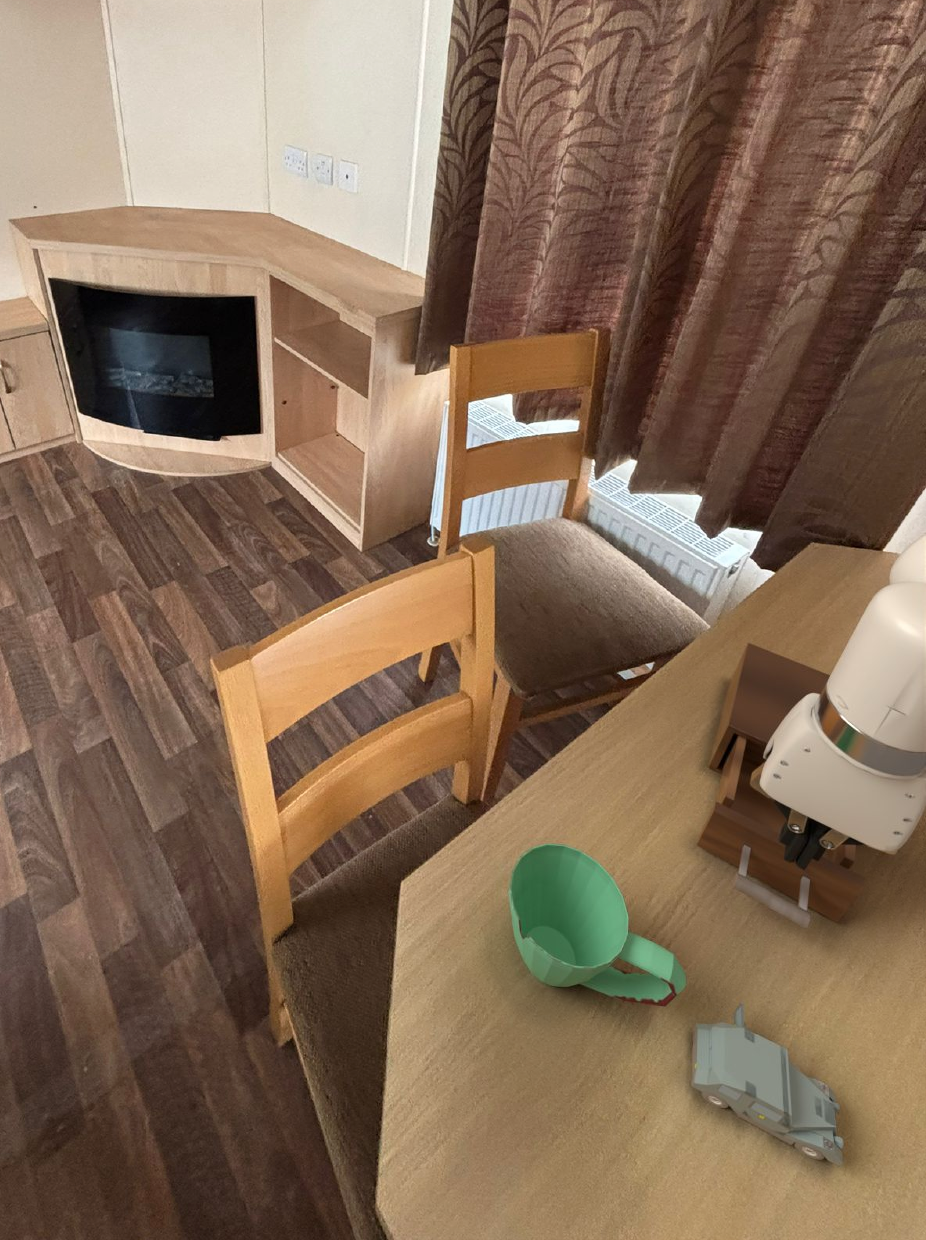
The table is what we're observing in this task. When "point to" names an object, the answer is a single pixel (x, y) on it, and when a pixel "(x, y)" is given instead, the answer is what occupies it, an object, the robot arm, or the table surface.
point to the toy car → (765, 1087)
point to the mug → (584, 929)
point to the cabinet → (761, 698)
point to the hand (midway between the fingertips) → (795, 851)
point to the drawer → (772, 846)
